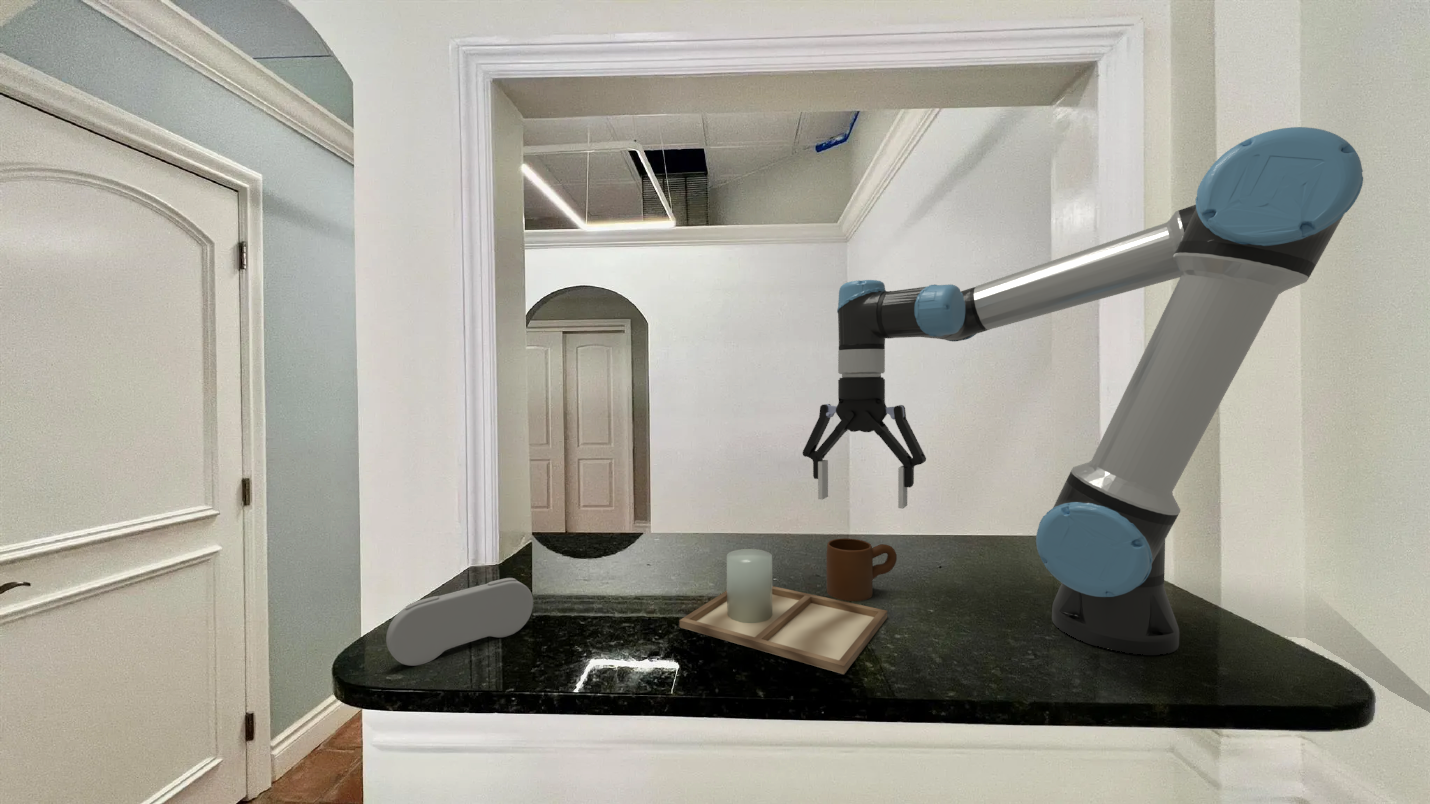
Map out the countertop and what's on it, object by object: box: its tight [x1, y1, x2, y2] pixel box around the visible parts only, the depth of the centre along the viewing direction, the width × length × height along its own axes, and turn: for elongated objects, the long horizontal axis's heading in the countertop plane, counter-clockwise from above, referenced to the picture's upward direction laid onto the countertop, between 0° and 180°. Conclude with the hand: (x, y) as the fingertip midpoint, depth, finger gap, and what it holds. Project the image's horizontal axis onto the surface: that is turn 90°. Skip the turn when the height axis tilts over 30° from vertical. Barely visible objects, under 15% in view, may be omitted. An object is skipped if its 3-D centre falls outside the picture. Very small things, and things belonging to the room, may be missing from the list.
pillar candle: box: [726, 548, 773, 623], centre depth 87 cm, size 7×7×9 cm
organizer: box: [678, 585, 888, 675], centre depth 84 cm, size 25×19×2 cm
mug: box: [825, 538, 898, 602], centre depth 95 cm, size 12×8×9 cm, turn 95°
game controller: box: [385, 577, 534, 667], centre depth 79 cm, size 20×2×8 cm, turn 133°
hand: (861, 502), depth 94 cm, fingers open, 13 cm apart
